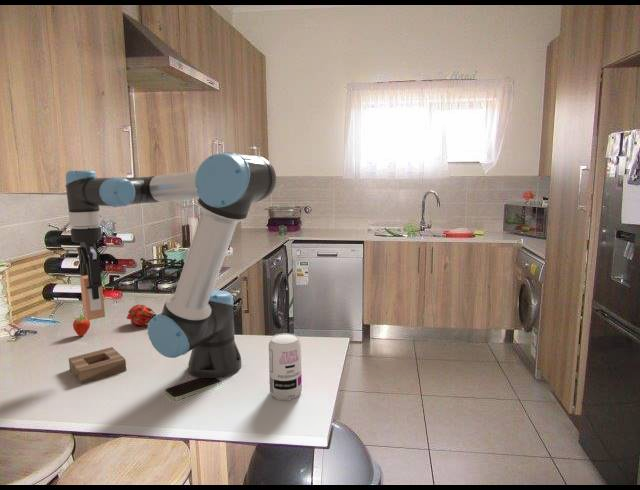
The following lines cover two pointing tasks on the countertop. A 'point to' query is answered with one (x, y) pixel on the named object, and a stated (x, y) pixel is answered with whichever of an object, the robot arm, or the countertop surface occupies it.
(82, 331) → the fruit
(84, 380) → the socket
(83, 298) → the peg
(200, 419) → the countertop surface
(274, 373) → the supplement can
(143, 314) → the dragon fruit
